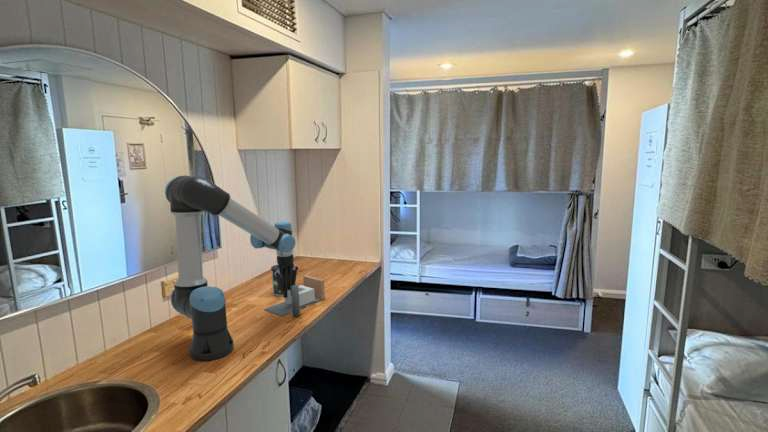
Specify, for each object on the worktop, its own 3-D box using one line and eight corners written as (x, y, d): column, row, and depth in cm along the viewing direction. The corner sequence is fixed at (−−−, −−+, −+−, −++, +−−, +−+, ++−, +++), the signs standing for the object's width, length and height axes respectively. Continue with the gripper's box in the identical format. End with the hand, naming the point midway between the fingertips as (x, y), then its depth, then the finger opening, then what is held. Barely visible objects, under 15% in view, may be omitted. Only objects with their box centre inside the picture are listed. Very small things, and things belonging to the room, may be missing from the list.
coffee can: (296, 292, 214) (295, 266, 212) (278, 297, 208) (276, 270, 205) (287, 288, 222) (285, 262, 220) (269, 292, 215) (267, 266, 213)
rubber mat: (281, 316, 184) (281, 315, 184) (264, 309, 192) (264, 309, 192) (324, 299, 204) (324, 298, 204) (307, 293, 212) (307, 293, 212)
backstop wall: (321, 300, 203) (320, 280, 201) (304, 294, 211) (303, 276, 209) (324, 299, 204) (323, 279, 203) (307, 293, 212) (306, 275, 211)
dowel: (295, 318, 182) (294, 287, 180) (291, 316, 184) (289, 286, 182) (301, 315, 184) (299, 285, 182) (296, 314, 186) (295, 284, 184)
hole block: (298, 306, 193) (298, 294, 192) (285, 302, 199) (284, 290, 198) (314, 300, 200) (314, 288, 200) (301, 296, 207) (300, 284, 206)
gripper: (278, 259, 183) (282, 309, 187) (301, 252, 193) (304, 300, 197) (268, 256, 187) (271, 305, 191) (290, 250, 197) (293, 297, 201)
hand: (288, 303), depth 194 cm, fingers closed
